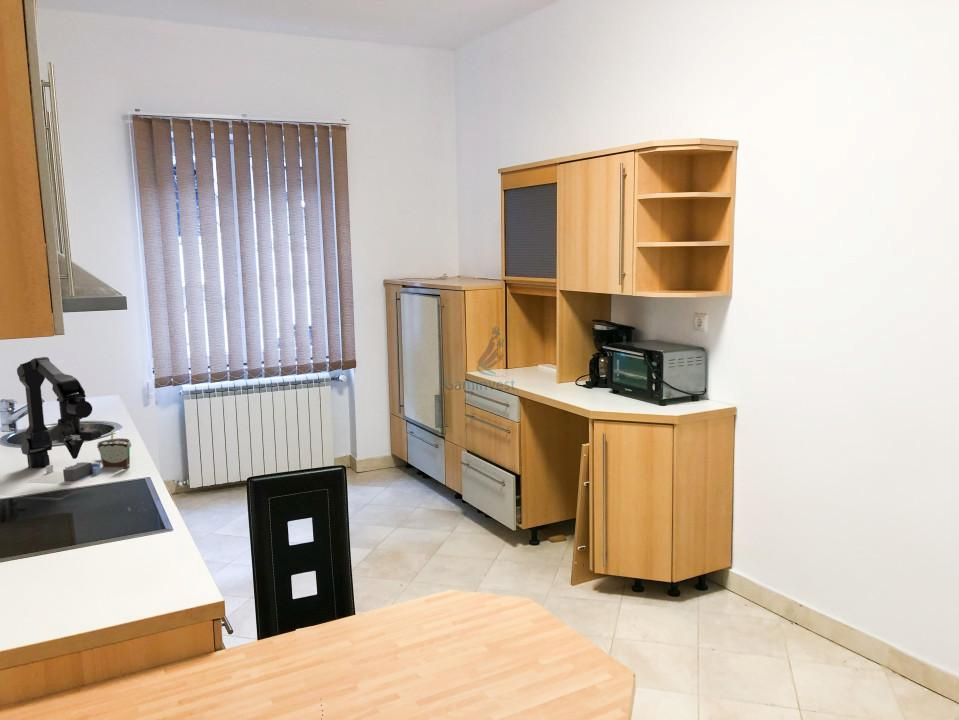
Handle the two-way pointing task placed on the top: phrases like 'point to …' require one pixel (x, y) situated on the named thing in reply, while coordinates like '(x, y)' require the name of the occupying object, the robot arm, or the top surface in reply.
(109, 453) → the food container
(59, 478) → the miniature room diorama
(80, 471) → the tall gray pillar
